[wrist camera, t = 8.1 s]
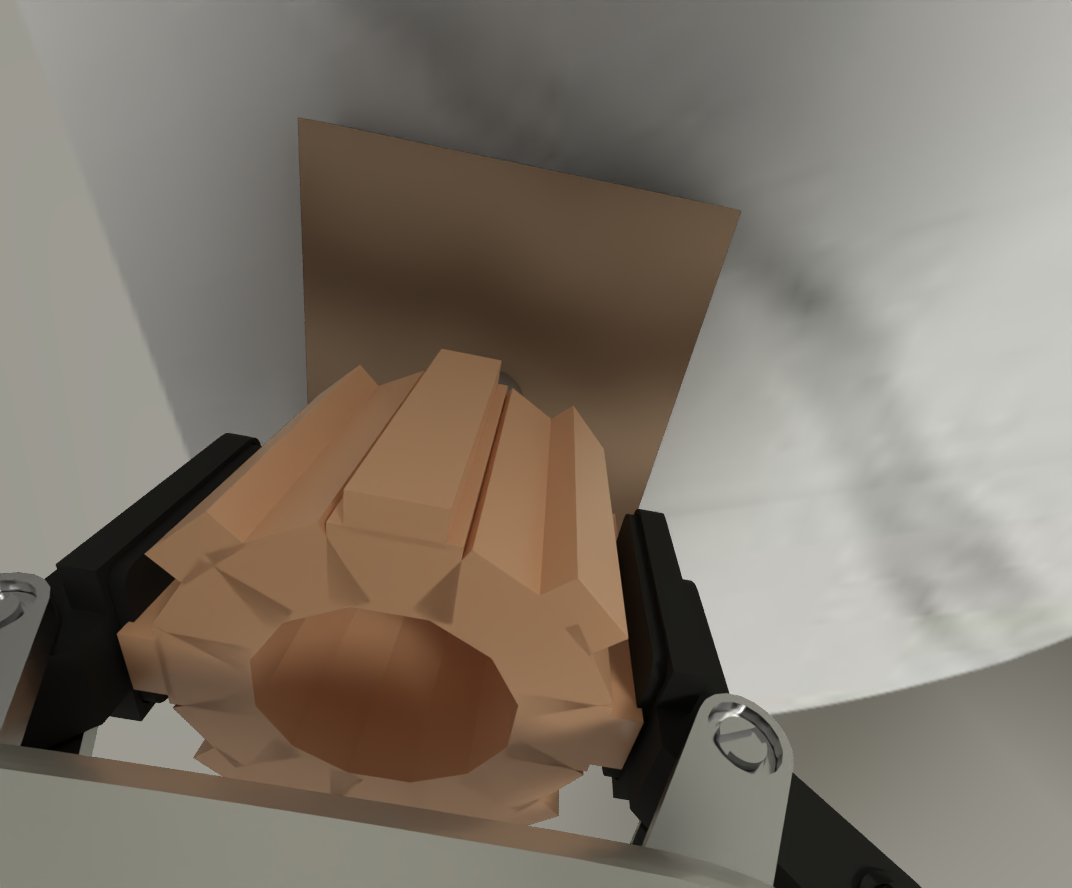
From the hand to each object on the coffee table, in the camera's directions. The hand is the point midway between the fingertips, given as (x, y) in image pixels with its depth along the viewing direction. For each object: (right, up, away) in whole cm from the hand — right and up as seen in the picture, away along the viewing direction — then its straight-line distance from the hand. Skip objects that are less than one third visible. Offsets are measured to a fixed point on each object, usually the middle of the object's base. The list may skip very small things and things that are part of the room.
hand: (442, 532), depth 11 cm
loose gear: (0, 0, +1) cm, 1 cm away
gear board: (0, +2, +9) cm, 9 cm away
